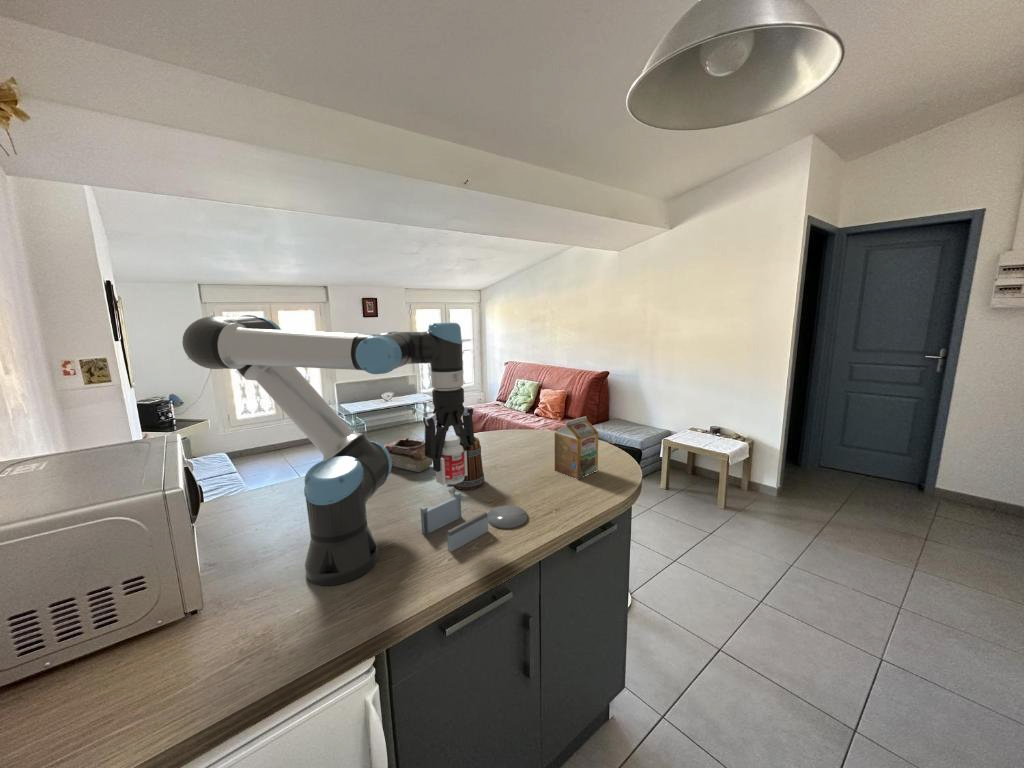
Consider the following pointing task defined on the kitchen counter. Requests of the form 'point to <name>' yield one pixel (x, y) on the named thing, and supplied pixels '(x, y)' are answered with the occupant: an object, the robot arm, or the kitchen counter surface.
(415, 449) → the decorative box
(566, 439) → the milk carton
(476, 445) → the mug
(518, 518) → the coaster
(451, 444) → the pill bottle
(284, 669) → the kitchen counter surface
